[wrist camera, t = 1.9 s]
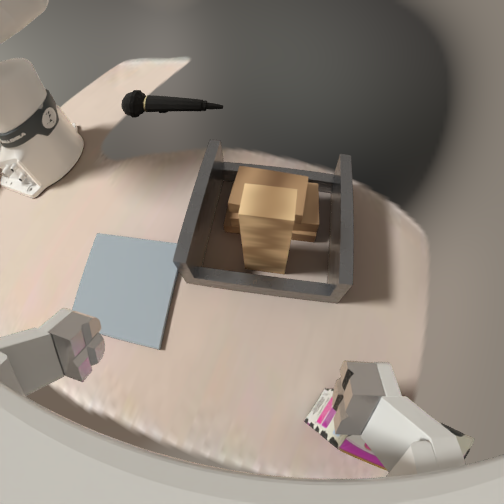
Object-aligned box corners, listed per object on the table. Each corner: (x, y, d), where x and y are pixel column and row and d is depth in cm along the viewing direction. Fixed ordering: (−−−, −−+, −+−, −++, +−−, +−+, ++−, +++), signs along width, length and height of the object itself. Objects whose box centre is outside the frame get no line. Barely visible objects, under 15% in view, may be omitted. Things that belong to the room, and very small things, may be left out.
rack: (186, 283, 39) (172, 261, 32) (215, 171, 46) (209, 139, 40) (337, 303, 37) (352, 285, 31) (340, 186, 44) (350, 155, 38)
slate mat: (70, 325, 36) (68, 323, 36) (98, 235, 42) (97, 233, 41) (160, 349, 35) (158, 349, 34) (184, 246, 41) (183, 244, 40)
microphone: (223, 115, 57) (128, 111, 55) (225, 89, 52) (127, 86, 51) (219, 126, 53) (118, 122, 52) (222, 97, 49) (116, 95, 47)
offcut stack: (224, 232, 42) (219, 208, 36) (233, 191, 45) (230, 164, 39) (314, 243, 41) (321, 220, 35) (316, 200, 44) (322, 174, 38)
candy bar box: (301, 423, 31) (333, 449, 16) (323, 387, 33) (372, 384, 18) (377, 459, 28) (449, 493, 13) (398, 424, 30) (479, 436, 15)
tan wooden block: (245, 269, 39) (238, 214, 27) (249, 244, 41) (244, 183, 29) (284, 274, 39) (294, 220, 27) (287, 249, 40) (297, 189, 28)
